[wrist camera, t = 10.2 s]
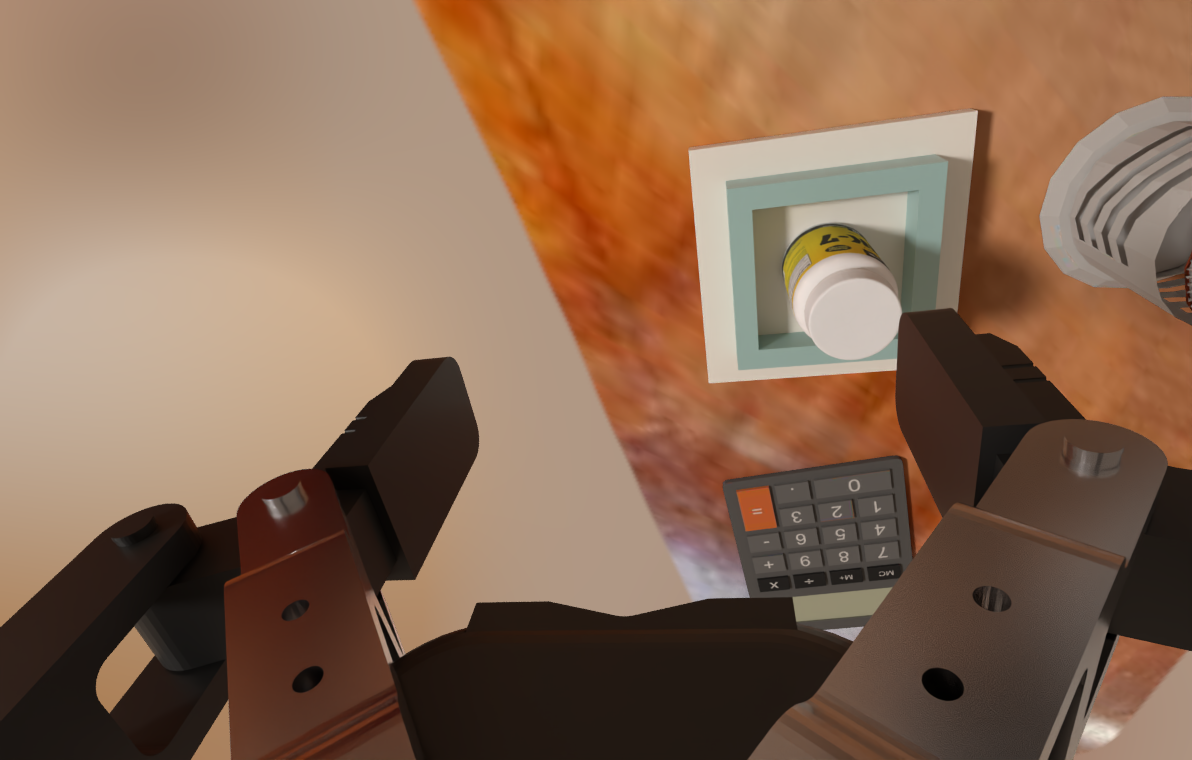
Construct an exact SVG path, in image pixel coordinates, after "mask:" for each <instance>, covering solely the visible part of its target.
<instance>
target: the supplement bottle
mask: <svg viewBox="0 0 1192 760" xmlns="http://www.w3.org/2000/svg"><path fill="white" fill-rule="evenodd" d="M782 276H783V280H784V283H785V286H786V290H787V293H788V296H789V299H790V302H791V305H792V309H793V312H794V316H795V318H796V320H797V322H798V324H799V326H800V327H801V328H802V330H803V331H804V332H805V333H806V334H807V335H808V336H809V337H810V338H812V340H813V342H814V343H815V344H816V346H817V347H818V348H819V349H820V350H822V351H823V352H824V353H826V354H827V355H829V356H832V357H834V358H838V359H842V360H858V359H863V358H866V357H870V356H872V355H874V354H876V353H878V352H880V351H881V350H883V349H884V348H885V347H886V346H888V345H889V344H890V342H891V341H892V340H893V339H894V337H895V336H896V334H897V333H898V328H899V320H900V317H901V315H902V307H901V303H900V301H899V299H898V288H897V284H896V281H895V279H894V277H893V275H892V273H891V272H890V270H889V268H888V267H887V266H886V265H885V263H884V262H883V261H882V260H881V258H880V257H879V256H878V254H877V253H876V252H875V250H874V249H873V248H872V247H871V246H870V244H869V243H868V242H867V240H866V239H865V238H864V237H863V236H862V235H861V234H860V233H859V232H858V231H857V230H855V229H854V228H852V227H850V226H847V225H844V224H839V223H822V224H817V225H814V226H811V227H809V228H807V229H806V230H804V231H802V232H801V233H800V234H798V235H797V236H796V237H795V238H794V239H793V240H792V242H791V243H790V244H789V246H788V248H787V249H786V251H785V254H784V257H783V261H782Z"/></svg>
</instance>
